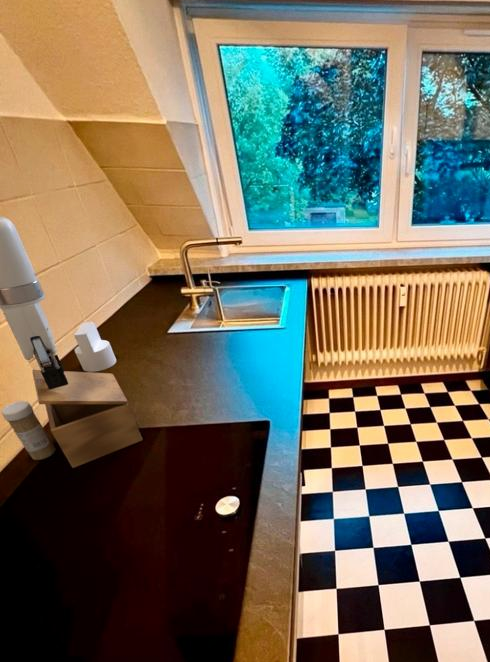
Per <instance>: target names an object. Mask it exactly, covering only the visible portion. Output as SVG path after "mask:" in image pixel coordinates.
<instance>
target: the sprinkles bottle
mask: <svg viewBox="0 0 490 662" xmlns="http://www.w3.org/2000/svg"><path fill="white" fill-rule="evenodd" d="M0 413H1V415H2V417H3V419H4V421H7V422H8V423H9V425H10V427H11V428H12V430H13V432H14V434H15V435H16V436H17V438H18V439H19V441H20V442H21V444H22V446H23V447H24V449H25V451H27V453H28V454H29V456H30V457H31V459H32V460H34V461H40V460H44V459H47V458H49V457H51V456H52V455H53V454H54V453H55V452H56V450H57V449H56V447H55V445H54V443H53V442H52V439H51V438H50V436H49V434H48V432H47V431H46V429H45V428H44V427H43V425H42V423H41V422H40V420H39V418H38V417H37V415H36V414H35V411H34V409H33V406H32V405H31V404H30V402H28V401H27V400H18V401H14V402H12V403H9V404H7V405H6V406H4V407H3V408H2V409H1V411H0Z"/></svg>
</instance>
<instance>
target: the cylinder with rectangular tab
mask: <svg viewBox="0 0 490 662" xmlns="http://www.w3.org/2000/svg"><path fill="white" fill-rule="evenodd" d="M73 337H74V339H75V340H76V343H77V345H78V346H76V347H75V348H74V353H75V356H76V358H77V360H78V361H79V364H80V366H81V368H82V370H83V372H90V373H97V372H100V371H105V370H107V369H109V368H111V367H113V366H114V365H115V364H116V363H117V358H116V356H115V353H114V351H113V348H112V346H111V343H110V342H109V341H108V340H105V339H102V338H101V336H100V333H99V331H98V329H97V326H96V324H95V322H94V321H87V322H83V323H81V324H80V325H79V327H78V328H77V330H76V331H75V333H74V334H73Z"/></svg>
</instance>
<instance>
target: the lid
mask: <svg viewBox="0 0 490 662" xmlns="http://www.w3.org/2000/svg"><path fill="white" fill-rule="evenodd" d="M64 374H65V377H66V379H67V381H68V385H65V386H61V387H58V388H54V389H49V388H48V386H47V384H46V382H45V380H44V378H43V376H42V374H41V369H32V376H33V382H34V387H35V392H36V398H37V402H38V405H45V404H128V400H127V397H126V396H125V394H124V392H123V390H122V388H121V387H120V385H119V382H118V381H117V378H116V377H115V375H114V374H113V373H109V372H108V373H107V372H87V371H70V370H68V371H66V370H64Z"/></svg>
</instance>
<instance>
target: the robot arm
mask: <svg viewBox="0 0 490 662" xmlns="http://www.w3.org/2000/svg"><path fill="white" fill-rule="evenodd" d="M45 298H46V295H45V292H44V290H43V288H42V286H41V283H40V281H39V278H38V276H37V274H36V271H35V269H34V267H33V265H32V262H31V260H30V257H29V255H28V253H27V251H26V248H25V246H24V244H23V241H22V239H21V237H20V235H19V232H18V230H17V228H16V226H15V224H14V223H13V222H12V221H11V220H10V219H9V218H7V217H4V216H0V309H2V311H3V315H4V316H5V317H4V318H5V319H6V321H7V324H8V326H9V328H10V331H11V333H12V334H13V336H14V339H15V340H16V343H17V345H18V347H19V349H20V351H21V354H22V355H23V358H24V359H25V360H27V361H30V360H31V359H34V358H35V360H36V362H37V364H38V367H39V370H41V374H42V376H43V378H44V380H45V382H46V384H47V386H48V388H49V389H54V388H58V387H61V386H65V385H68V381H67V379H66V377H65V374H64V371H65V369H64V367H63V364H62V362H61V360H60V357H59V355H58V354H56V353H57V348H56V343H55V340H54V336H53V332H52V330H51V326H50V324H49V322H48V319H47V316H46V314H45V312H44V310H43V307H42V305H41V303H40V302H42V301H43V300H45Z"/></svg>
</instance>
